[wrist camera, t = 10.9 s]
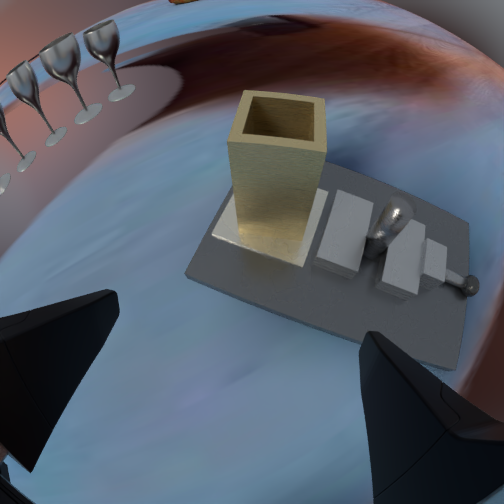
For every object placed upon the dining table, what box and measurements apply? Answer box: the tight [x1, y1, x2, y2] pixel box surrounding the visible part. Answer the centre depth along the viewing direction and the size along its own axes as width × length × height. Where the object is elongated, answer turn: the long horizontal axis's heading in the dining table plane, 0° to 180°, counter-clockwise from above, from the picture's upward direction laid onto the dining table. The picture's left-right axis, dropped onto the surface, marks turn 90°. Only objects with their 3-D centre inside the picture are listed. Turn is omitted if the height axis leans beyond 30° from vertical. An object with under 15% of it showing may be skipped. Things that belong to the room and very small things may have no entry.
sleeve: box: [227, 90, 327, 241], centre depth 17 cm, size 5×5×9 cm
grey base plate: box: [184, 161, 479, 371], centre depth 18 cm, size 14×23×7 cm, turn 67°
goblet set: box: [0, 20, 136, 196], centre depth 23 cm, size 28×6×13 cm, turn 130°
